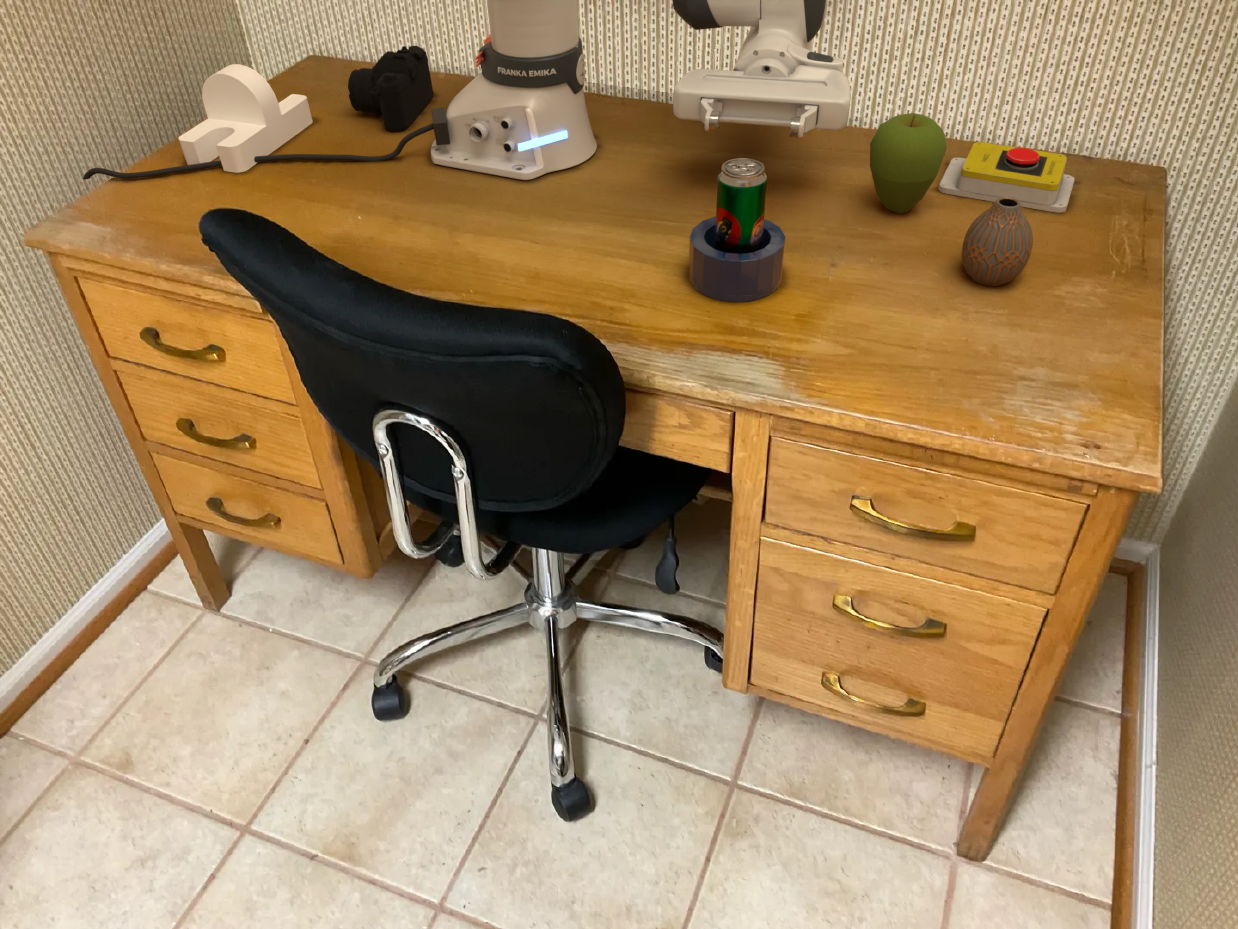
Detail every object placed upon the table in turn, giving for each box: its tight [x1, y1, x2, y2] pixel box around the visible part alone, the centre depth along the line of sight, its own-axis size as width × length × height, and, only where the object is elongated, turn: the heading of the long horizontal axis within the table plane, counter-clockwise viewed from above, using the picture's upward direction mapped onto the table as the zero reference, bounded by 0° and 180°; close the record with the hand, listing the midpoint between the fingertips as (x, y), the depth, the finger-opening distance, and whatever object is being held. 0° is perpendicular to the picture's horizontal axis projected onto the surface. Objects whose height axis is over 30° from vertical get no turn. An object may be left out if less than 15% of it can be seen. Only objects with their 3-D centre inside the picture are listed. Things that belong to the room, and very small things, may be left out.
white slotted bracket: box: [178, 63, 313, 174], centre depth 134 cm, size 10×18×10 cm, turn 161°
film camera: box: [347, 45, 435, 133], centre depth 141 cm, size 15×10×9 cm, turn 169°
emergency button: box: [938, 141, 1076, 214], centre depth 119 cm, size 9×4×15 cm
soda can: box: [715, 157, 768, 254], centre depth 102 cm, size 5×5×12 cm
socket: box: [688, 215, 786, 303], centre depth 105 cm, size 10×10×5 cm
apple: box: [869, 112, 948, 214], centre depth 113 cm, size 9×8×12 cm
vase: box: [961, 197, 1034, 287], centre depth 102 cm, size 7×7×9 cm
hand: (753, 127), depth 107 cm, fingers open, 8 cm apart
